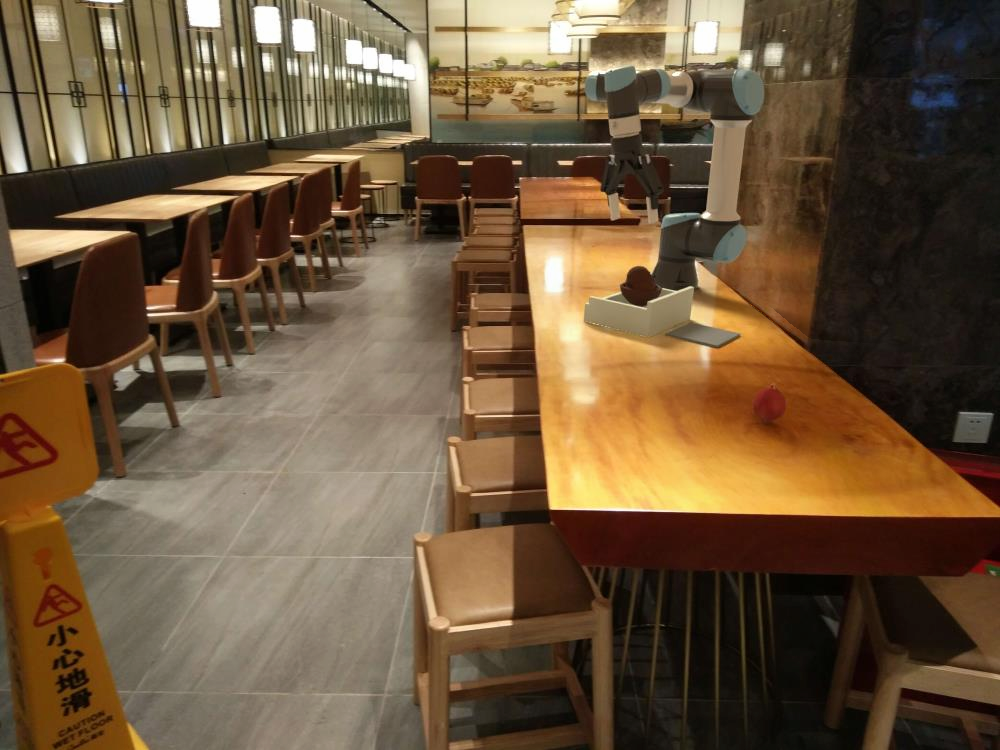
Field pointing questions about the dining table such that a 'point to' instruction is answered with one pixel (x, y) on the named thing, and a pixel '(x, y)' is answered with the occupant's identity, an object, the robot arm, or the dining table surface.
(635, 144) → the robot arm
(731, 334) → the slate mat
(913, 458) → the dining table surface
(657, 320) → the drawer
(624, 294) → the ice cream bowl
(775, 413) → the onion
